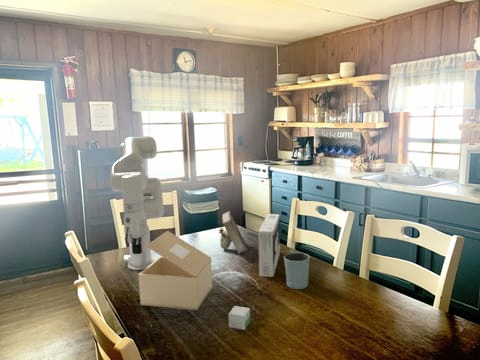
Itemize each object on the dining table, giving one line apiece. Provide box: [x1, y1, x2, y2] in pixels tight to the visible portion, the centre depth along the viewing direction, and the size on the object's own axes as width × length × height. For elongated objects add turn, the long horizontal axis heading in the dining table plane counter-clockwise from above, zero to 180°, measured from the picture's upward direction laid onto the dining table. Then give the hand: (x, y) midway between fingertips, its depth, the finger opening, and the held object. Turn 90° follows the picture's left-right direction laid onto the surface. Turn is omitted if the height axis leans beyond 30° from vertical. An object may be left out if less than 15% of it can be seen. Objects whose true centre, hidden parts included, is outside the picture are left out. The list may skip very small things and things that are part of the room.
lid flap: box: [146, 230, 212, 277], centre depth 139 cm, size 21×18×1 cm
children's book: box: [218, 210, 248, 255], centre depth 192 cm, size 20×12×20 cm, turn 6°
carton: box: [137, 256, 213, 311], centre depth 141 cm, size 22×18×12 cm
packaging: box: [257, 213, 281, 278], centre depth 171 cm, size 30×6×20 cm, turn 168°
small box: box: [228, 305, 251, 331], centre depth 121 cm, size 6×6×5 cm
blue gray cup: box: [283, 251, 311, 290], centre depth 148 cm, size 10×10×12 cm
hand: (137, 253), depth 143 cm, fingers closed
